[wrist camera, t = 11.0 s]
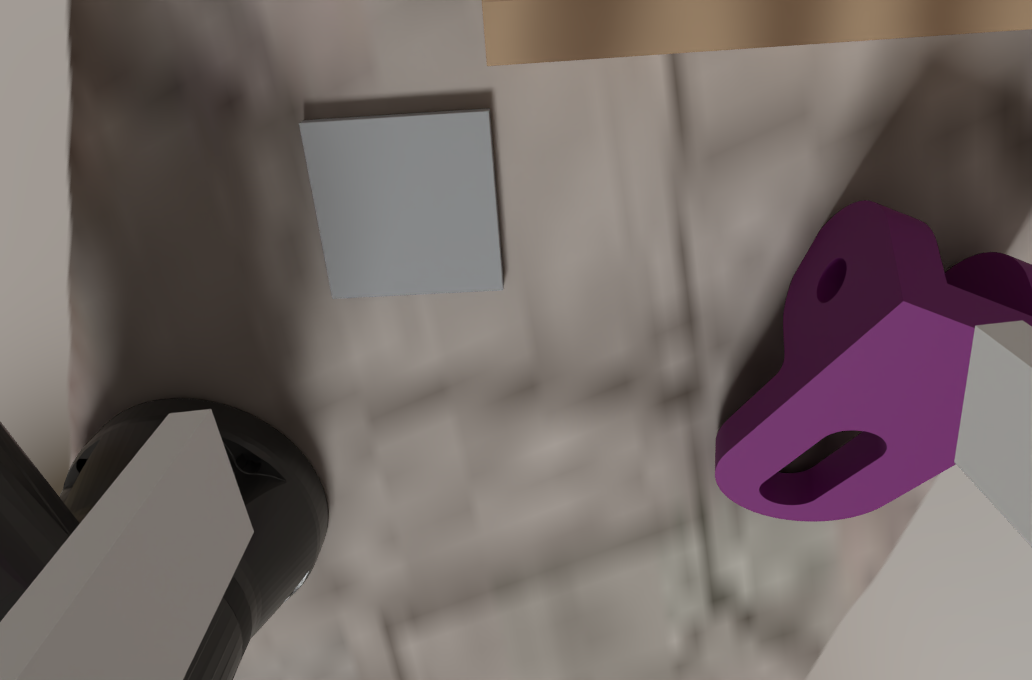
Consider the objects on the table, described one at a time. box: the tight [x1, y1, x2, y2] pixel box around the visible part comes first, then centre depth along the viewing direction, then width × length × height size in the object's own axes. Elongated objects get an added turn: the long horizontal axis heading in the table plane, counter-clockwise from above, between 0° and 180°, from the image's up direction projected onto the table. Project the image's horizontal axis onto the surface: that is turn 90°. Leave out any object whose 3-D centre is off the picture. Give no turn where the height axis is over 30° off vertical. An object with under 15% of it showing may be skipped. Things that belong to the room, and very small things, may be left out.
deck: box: [299, 108, 504, 299], centre depth 37 cm, size 9×9×1 cm
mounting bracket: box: [715, 200, 1032, 521], centre depth 39 cm, size 10×8×18 cm
